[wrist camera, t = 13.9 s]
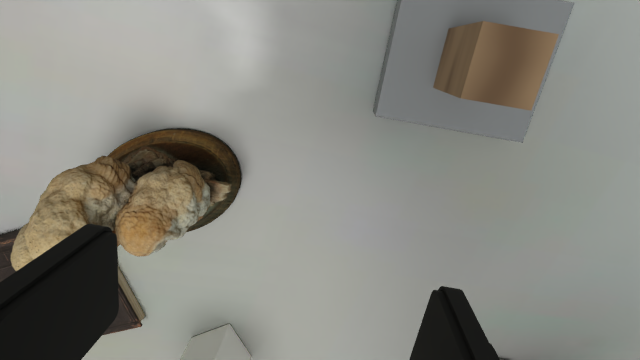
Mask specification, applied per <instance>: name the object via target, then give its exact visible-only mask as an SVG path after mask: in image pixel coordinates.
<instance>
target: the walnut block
mask: <svg viewBox="0 0 640 360" xmlns="http://www.w3.org/2000/svg"><path fill="white" fill-rule="evenodd" d="M558 36H559V34H555V33H549V32H543V31H538V30H532V29H526V28H520V27H515V26H509V25H503V24H498V23H492V22H486V21H481V22H476V23H472V24H467V25H463V26H458V27H454V28H449V29H448V33H447V36H446V40H445V44H444V48H443V52H442V55H441V59H440V63H439V67H438V71H437V74H436V78H435V82H434V86H433V88H435V89H437V90H440V91H443V92H445V93H448V94H450V95H453V96H456V97H458V98H461V99H467V100H472V101H478V102H484V103H490V104H495V105H501V106H507V107H513V108H518V109H524V110H530V111H531V110H532V107H533V105H534V102H535V99H536V96H537V94H538V91H539V88H540V85H541V83H542V80H543V77H544V74H545V72H546V69H547V66H548V63H549V61H550V58H551V55H552V52H553V50H554V47H555V44H556V41H557V39H558Z"/></svg>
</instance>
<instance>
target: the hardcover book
mask: <svg viewBox="0 0 640 360" xmlns="http://www.w3.org/2000/svg"><path fill="white" fill-rule="evenodd" d="M20 230H21V229H19V230H16V231H12V232H9V233H5V234H1V235H0V282H1V281H3V280H4V279H6V278H7V277H9V276H10V275H12V274H13V273H15V272H16V270H14V268H13V267H12V263H11V259H10V258H11V256H10V255H11V253H12V249H13V245H14V241H15V240H16V237H17V235H18V233H19V231H20ZM118 291H119V311H118V314H117V316H116V318H115V320H114V321H113V323H112V324H111V325H110V326H109V327H108V328H107V330H106V331H105V332H104V333H103V334H102V335H106V334H110V333H115V332H119V331H124V330H128V329H133V328H137V327H141V326H142V324H141V322H140V321H141V320H142V319H144V316H145V314H144V312H143V310H142V309H141V307H140V305H139V303H138V301H137V299H136V298H135V296H134V294H133V292H132V290H131V289H130V287H129V285H128V283H127V281H126V280H125V278H124V276H123V274H122V272H121V271H120V269H119V267H118Z"/></svg>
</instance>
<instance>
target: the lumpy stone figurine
mask: <svg viewBox="0 0 640 360" xmlns="http://www.w3.org/2000/svg"><path fill="white" fill-rule="evenodd" d="M240 184H241V171H240V168H239V163H238V161H237V159H236V156H235V155H234V154H233V152H232V150H231V149H230V148H229V147H228V146H227V145H225V144H224V143H223V142H222V141H221V140H220V139H218V138H216V137H215V136H213V135H211V134H208V133H205V132H202V131H197V130H191V129H181V128H180V129H179V128H178V129H165V130H159V131H155V132H151V133H147V134H144V135H141V136H139V137H137V138H134V139H132V140H130V141H128V142H126V143H124V144H122V145H121V146H119V147H118V148H116V149H115V150H114V151H113V152H112V153H110V154H109V155H108V156H107V157H106V156H101V157H99V158H97V159H96V161H95V162H93V163H90V164H86V165H80V166H78V167H76V168H73V169H68V170H66V171H64V172H62V173H61V174H59V175H57V176H56V177H55V178H53V179H52V180H51V182H50V183H49V185H48V186H47V189H46V191H44V193H43V194H42V195H41V196H40V201H39V203H38V205H37V206H36V209H35V211H34V213H33V214H32V216H31V217H30V220H29V223H28V224H26V225H24V226H23V227H22V228H21V230H20V231H19V233H18V235H17V237H16V240H15V241H14V245H13V249H12V253H11V255H10V256H11V258H10V259H11V263H12V267H13V268H14V270H16V271H18V270H19V269H20V268H22V267H23V266H25V265H26V264H28V263H29V262H31V261H32V260H34V259H35V258H37V257H38V256H40V255H41V254H43V253H44V252H46V251H47V250H49V249H50V248H52V247H53V246H55V245H56V244H58V243H59V242H61V241H62V240H64V239H65V238H66V237H68V236H69V235H71V234H72V233H74V232H75V231H77V230H78V229H80V228H81V227H83V226H84V225H86V224H95V225H100V226H106V227H109V228H111V230H112V233H115V234H116V236H117V247H118V246H119V245H120V244H121V245H122V246H123V247H124V249H125V250H126V251H127V252H129V253H130V254H132V255H135V256H138V257H139V256H148V255H150V254H151V253H153V252H157V251H159V250H160V249H161V248H162V247H164V246H165V243H166V242H167V241H168V240H175V239H178V238H180V237H183V236H184V234H185V233H186V232H189V231H192V230H195V229H198V228H200V227H203V226H205V225H207V224H208V223H210V222H212V221H213V220H215V219H216V218H218V217H219V216H220V215H222V214H223V213H224V212H225V210H226V209H228V208H229V206H230V205H231V204H232V202H233V201H234V199H235V197H236V195H237V193H238V190H239V188H240Z"/></svg>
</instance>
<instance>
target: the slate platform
mask: <svg viewBox="0 0 640 360" xmlns="http://www.w3.org/2000/svg"><path fill="white" fill-rule="evenodd" d="M573 6H574V3H572V2H567V1H561V0H397V4H396V8H395V13H394V18H393V22H392V27H391V31H390V36H389V40H388V45H387V50H386V54H385V59H384V63H383V68H382V72H381V77H380V82H379V86H378V91H377V95H376V100H375V104H374V109H373V112H374V114H375V116H376V117H382V118H388V119H393V120H399V121H404V122H410V123H415V124H421V125H427V126H432V127H438V128H443V129H449V130H454V131H460V132H466V133H471V134H477V135H482V136H488V137H493V138H499V139H505V140H510V141H516V142H521V143H523V140H524V137H525V135H526V132H527V129H528V127H529V124H530V121H531V118H532V116H533V113H534V110H535V108H536V105H537V102H538V100H539V97H540V94H541V92H542V89H543V86H544V83H545V81H546V78H547V75H548V73H549V70H550V67H551V65H552V62H553V59H554V57H555V54H556V51H557V49H558V46H559V43H560V40H561V38H562V35H563V32H564V30H565V27H566V24H567V22H568V19H569V16H570V14H571V11H572V8H573ZM481 21H486V22H492V23H498V24H503V25H509V26H515V27H520V28H526V29H532V30H538V31H543V32H549V33H555V34H559V36H558V39H557V41H556V44H555V47H554V50H553V52H552V55H551V58H550V61H549V63H548V66H547V69H546V72H545V74H544V77H543V80H542V83H541V85H540V88H539V91H538V94H537V96H536V99H535V102H534V105H533V107H532V110H531V111H530V110H524V109H518V108H513V107H507V106H501V105H495V104H490V103H484V102H478V101H472V100H467V99H461V98H458V97H456V96H453V95H450V94H448V93H445V92H443V91H440V90H437V89H435V88H433V86H434V82H435V78H436V74H437V71H438V67H439V63H440V59H441V55H442V52H443V48H444V44H445V40H446V36H447V33H448V29H449V28H454V27H458V26H463V25H467V24H472V23H476V22H481Z"/></svg>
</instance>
